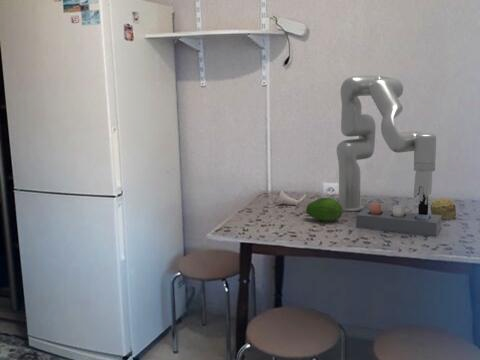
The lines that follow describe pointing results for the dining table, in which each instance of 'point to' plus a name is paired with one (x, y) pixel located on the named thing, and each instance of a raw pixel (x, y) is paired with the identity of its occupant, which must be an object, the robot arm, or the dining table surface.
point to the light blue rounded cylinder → (422, 216)
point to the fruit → (324, 209)
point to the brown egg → (375, 208)
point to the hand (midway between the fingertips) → (423, 214)
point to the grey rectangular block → (399, 222)
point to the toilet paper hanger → (288, 199)
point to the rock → (443, 208)
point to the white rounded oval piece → (398, 211)
